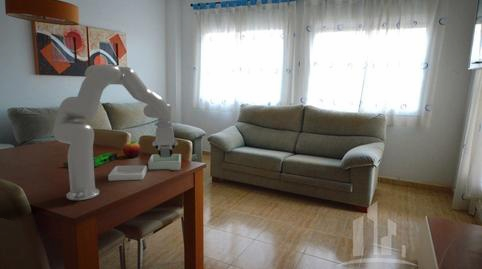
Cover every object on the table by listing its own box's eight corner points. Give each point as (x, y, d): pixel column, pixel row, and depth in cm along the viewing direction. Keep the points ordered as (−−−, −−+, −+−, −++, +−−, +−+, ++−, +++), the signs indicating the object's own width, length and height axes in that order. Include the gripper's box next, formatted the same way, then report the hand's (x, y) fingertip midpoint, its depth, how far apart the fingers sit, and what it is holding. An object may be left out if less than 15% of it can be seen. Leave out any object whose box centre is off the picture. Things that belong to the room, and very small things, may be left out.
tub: (142, 181, 153) (142, 174, 152) (108, 182, 150) (108, 175, 149) (147, 171, 168) (146, 165, 167) (116, 172, 166) (116, 166, 165)
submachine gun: (48, 162, 170) (89, 162, 166) (83, 152, 199) (119, 151, 195) (49, 171, 171) (90, 171, 167) (84, 159, 199) (120, 159, 195)
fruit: (119, 157, 197) (119, 142, 195) (131, 154, 207) (130, 139, 205) (133, 159, 193) (133, 143, 191) (144, 155, 203) (144, 140, 201)
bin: (179, 169, 172) (179, 161, 171) (148, 170, 170) (148, 162, 169) (180, 162, 189) (180, 154, 188) (152, 162, 186) (152, 154, 185)
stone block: (169, 157, 176) (169, 148, 175) (160, 157, 176) (160, 148, 175) (170, 155, 181) (170, 146, 180) (161, 155, 180) (161, 146, 180)
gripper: (148, 126, 170) (149, 158, 173) (179, 126, 173) (180, 157, 176) (150, 124, 177) (151, 155, 181) (180, 124, 180) (180, 154, 183)
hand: (165, 156), depth 178 cm, fingers closed on stone block, 5 cm apart
